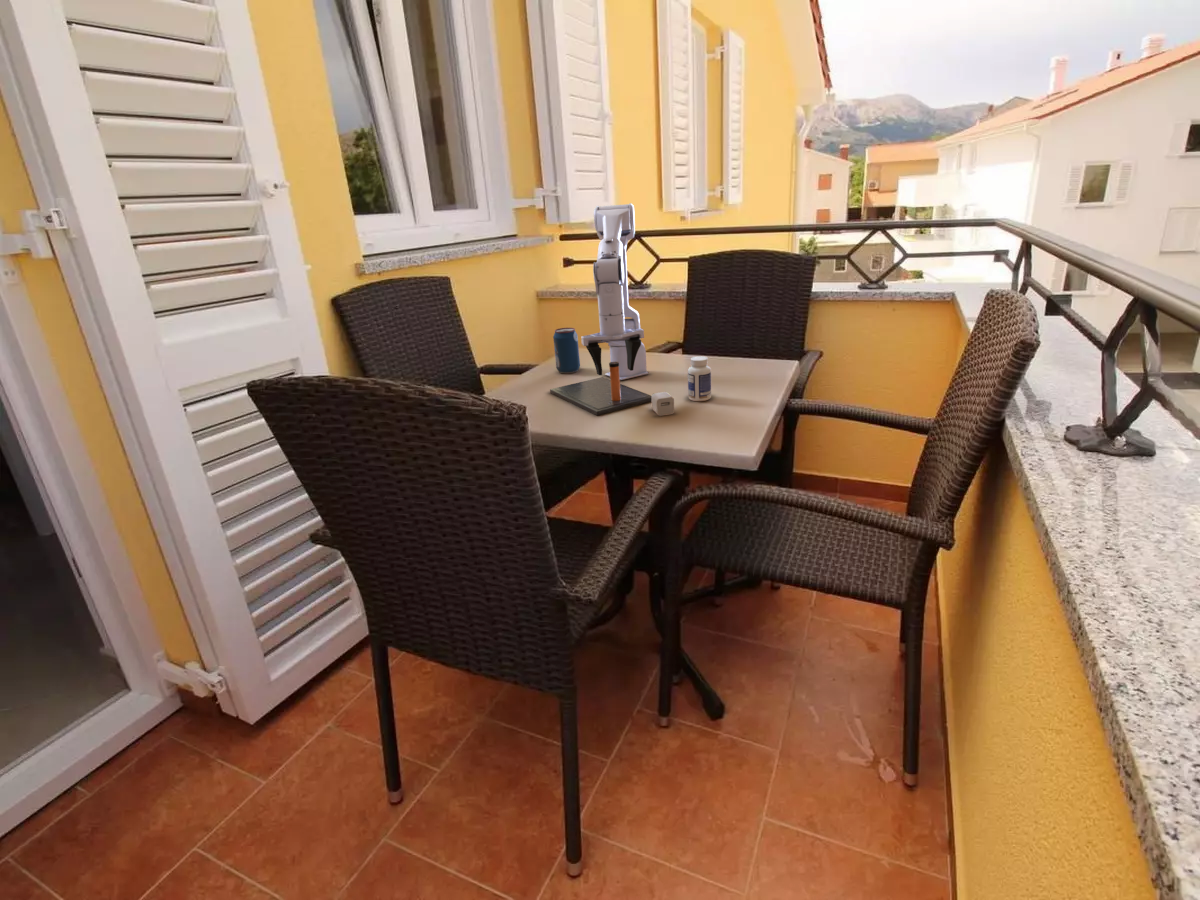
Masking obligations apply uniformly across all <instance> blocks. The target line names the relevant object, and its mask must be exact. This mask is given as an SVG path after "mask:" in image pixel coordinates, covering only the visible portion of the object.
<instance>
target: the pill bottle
mask: <svg viewBox="0 0 1200 900" xmlns="http://www.w3.org/2000/svg"><path fill="white" fill-rule="evenodd" d="M708 365H709V358H708V357H707V356H704V355H703V356H701V355H698V356H692V357H690V366H689V368H688V369H687V393H688V399H689V400H690V401H694V402H704V401H708V400H710V399H711V398H712V368H711V367H710V366H708Z"/></svg>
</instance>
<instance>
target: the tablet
mask: <svg viewBox="0 0 1200 900" xmlns="http://www.w3.org/2000/svg"><path fill="white" fill-rule="evenodd" d="M549 393H550V394H552V395H554V396H556V397H558V398H560V399H562V400H564V401H566V402H568V403H570V404H572V405H574V406H576V407H579V408H580V409H583V410H585V411H587V412H589V413H591V414H592V415H595V416H600V415H605V414H609V413H612V412H617V411H619V410H620V411H621V410H623V409H628V408H632V407H635V406H639V405H643V404H645V403H650V402H651V403H652V401H651V396H652V394H648V393H646V392H643V391H640V390H638V389H634V388H633V387H630V386H627V385H625V384H622V383H620V393H621V400H619V401H613V400H612V397H611V382H610V378H606V377H603V376H602V377H597V378H593V379H587V380H584V381H580V382H575V383H571V384H567V385H563V386H558V387H553V388H550V389H549Z"/></svg>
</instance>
